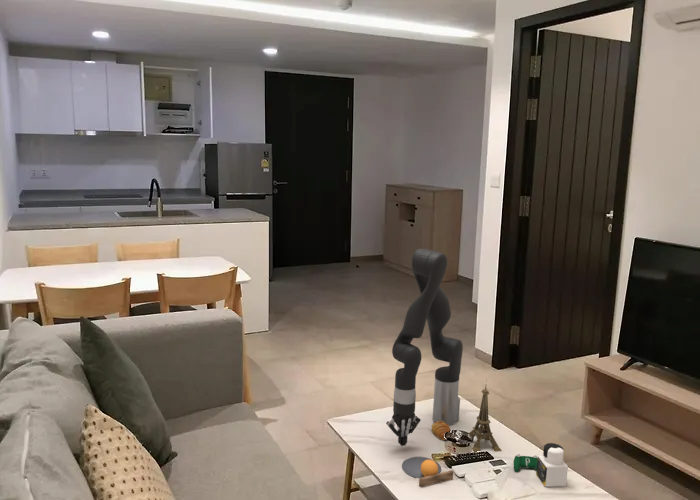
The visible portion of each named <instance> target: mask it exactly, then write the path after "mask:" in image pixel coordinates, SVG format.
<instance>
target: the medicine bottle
mask: <svg viewBox="0 0 700 500" xmlns="http://www.w3.org/2000/svg"><path fill="white" fill-rule="evenodd" d="M564 452H565V449H564V448H563V446H561V445H560V444H557V443H553V442H548V443H545V444H544V446H543V452H542V453H543V454H538V455H537V458H538V459H537V470H535V472H536V473H535V474H536V477H537V478H538V479H539V481H540V482H541V484H542V485H543V486H544V487H545V488H553V487H555V488H557V487H566V486H567V479H568V471H569V466H568V464H567V463H566V462H565V461H564V454H565V453H564Z"/></svg>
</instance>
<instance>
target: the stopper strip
mask: <svg viewBox="0 0 700 500" xmlns="http://www.w3.org/2000/svg"><path fill="white" fill-rule="evenodd" d="M418 479H419V480H418V481H419V484H418V486H419V487H420V488H423V487H427V486H430V485H435V484H438V483H443V482H446V480H447V481H450V479H451V480H453V479H454V471H453V470H451V469H450V470H447V471H441V473H438V474H434V475H430V476H426V477H422V478H418Z"/></svg>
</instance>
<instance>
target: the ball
mask: <svg viewBox="0 0 700 500" xmlns="http://www.w3.org/2000/svg"><path fill="white" fill-rule="evenodd" d="M433 460H434V459H432V460H425V461H424V462H423V463H422V464H421V472H422V474H423V475H424V476H425V477H426V476H430V475H434V474H437V473H438V466H437V464H436V462H437V461H436V462H434V461H435V460H434V461H433Z"/></svg>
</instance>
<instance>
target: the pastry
mask: <svg viewBox="0 0 700 500" xmlns="http://www.w3.org/2000/svg"><path fill="white" fill-rule="evenodd" d="M449 431H451V432H452V430H451V428H450V425H448V424H445V422H443V421H437V422H435V421H434V423H433V424H432V425H431V432H432V434H433V435H434V436H435V437H436V438H437V439H439V440H441V441H446V440H445V438H444V434H445V433H446V432H449Z"/></svg>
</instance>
